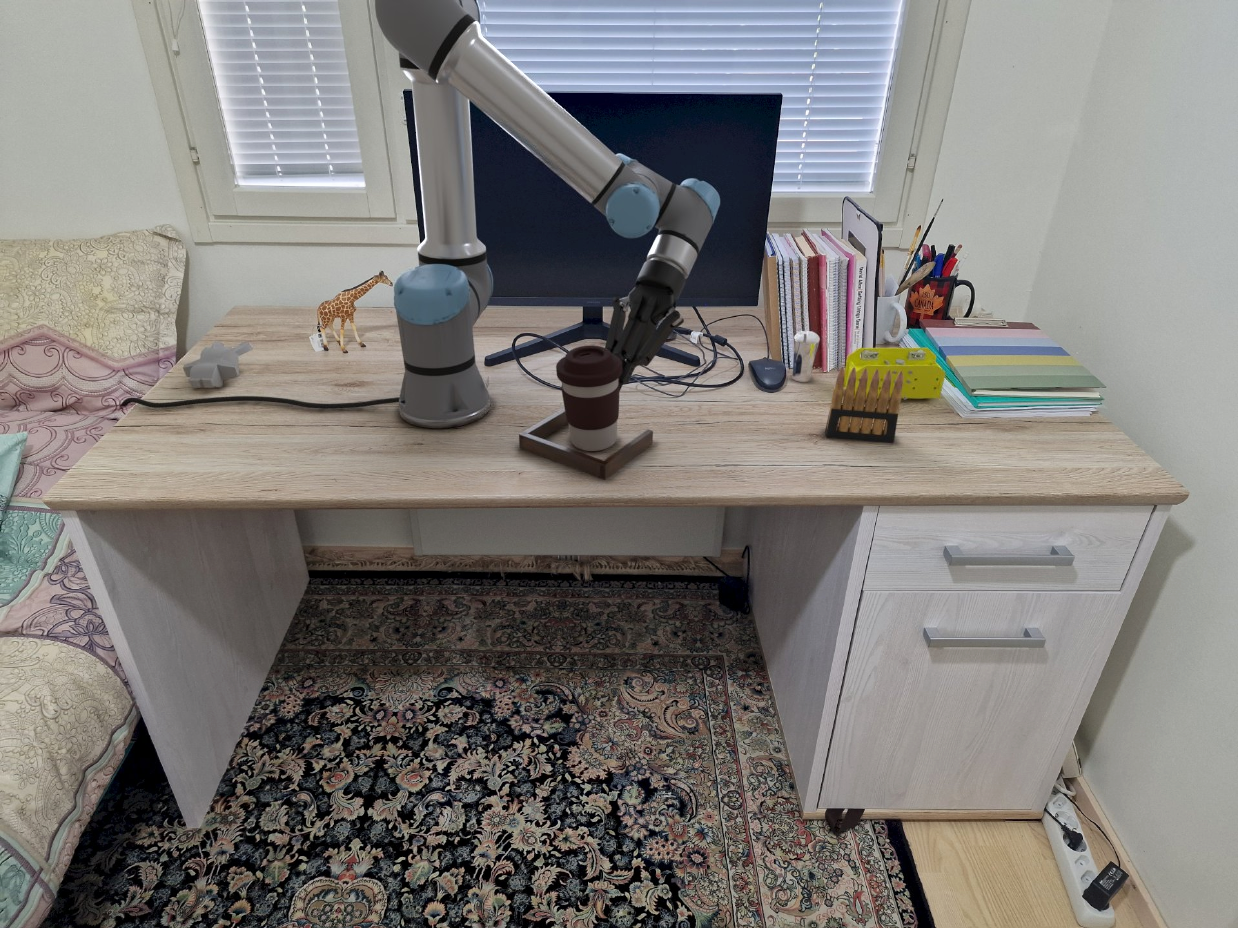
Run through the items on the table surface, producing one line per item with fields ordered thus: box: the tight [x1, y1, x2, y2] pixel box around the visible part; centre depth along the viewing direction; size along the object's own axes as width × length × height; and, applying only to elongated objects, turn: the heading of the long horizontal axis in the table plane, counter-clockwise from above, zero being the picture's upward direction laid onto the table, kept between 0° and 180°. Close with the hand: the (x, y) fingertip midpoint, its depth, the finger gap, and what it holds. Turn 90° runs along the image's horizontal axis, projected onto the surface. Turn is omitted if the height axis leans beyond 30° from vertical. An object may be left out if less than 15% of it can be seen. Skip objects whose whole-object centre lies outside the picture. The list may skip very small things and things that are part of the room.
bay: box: [518, 407, 654, 480], centre depth 119 cm, size 13×16×2 cm
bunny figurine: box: [182, 341, 254, 389], centre depth 141 cm, size 10×5×15 cm
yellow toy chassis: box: [843, 347, 946, 401], centre depth 135 cm, size 16×6×8 cm, turn 91°
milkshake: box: [792, 330, 821, 383], centre depth 140 cm, size 5×5×10 cm
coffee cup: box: [555, 344, 622, 452], centre depth 117 cm, size 10×10×15 cm
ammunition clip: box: [824, 366, 903, 444], centre depth 120 cm, size 11×2×12 cm, turn 80°
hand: (607, 398), depth 121 cm, fingers closed
